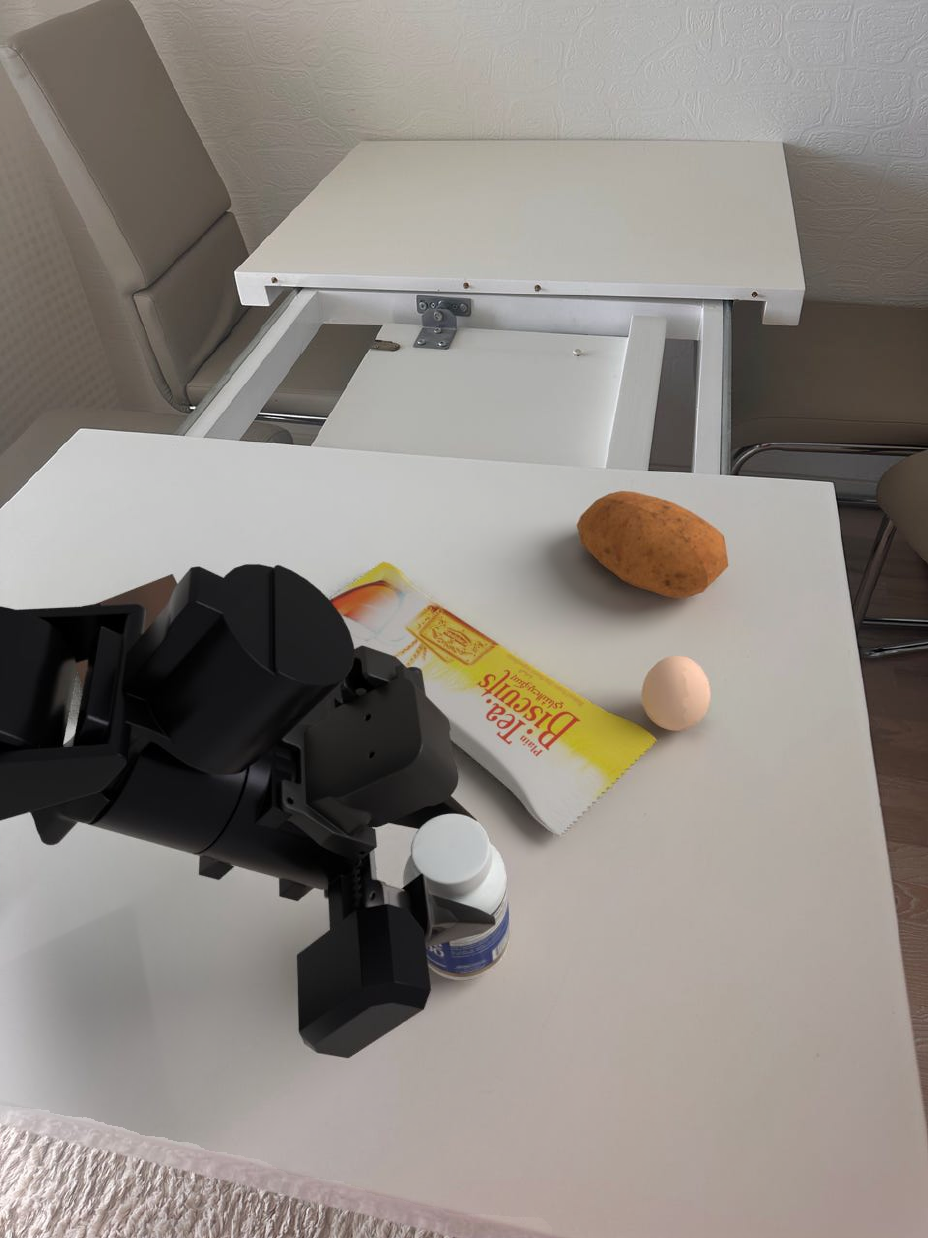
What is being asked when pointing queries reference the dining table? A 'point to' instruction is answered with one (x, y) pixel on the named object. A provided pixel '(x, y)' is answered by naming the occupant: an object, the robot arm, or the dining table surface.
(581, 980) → the dining table surface
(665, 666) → the egg
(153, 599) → the walnut block
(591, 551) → the potato
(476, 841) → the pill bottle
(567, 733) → the food package
